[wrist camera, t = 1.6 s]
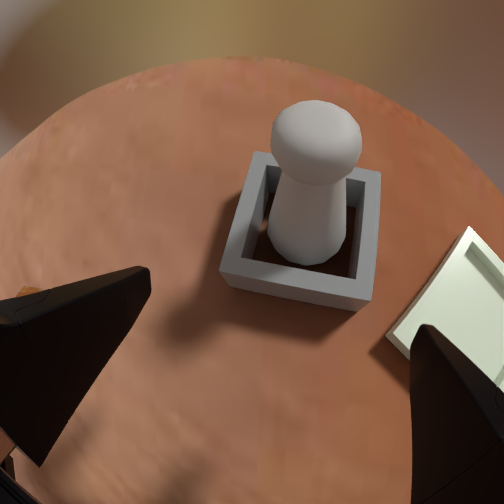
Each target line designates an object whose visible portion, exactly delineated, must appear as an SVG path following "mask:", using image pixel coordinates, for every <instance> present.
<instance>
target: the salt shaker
mask: <svg viewBox="0 0 504 504" xmlns="http://www.w3.org/2000/svg"><path fill="white" fill-rule="evenodd" d="M270 146H271V151H272V155H273V156H274V158H275V160H276V161H277V163H278V165H279V167H280V168H281V170H282V173H281V177H280V180H279V184H278V187H277V191H276V194H275V198H274V201H273V204H272V208H271V211H270V215H269V220H268V231H267V234H268V236H269V238H270V240H271V242H272V244H273V246H274V248H275V250H276V251H277V252H278V253H279V254H281V255H282V256H283V257H284V258H285V259H286V260H287V261H289V262H293V263H297V264H301V265H305V266H308V265H314V264H320V263H324V262H325V261H327V260H328V259H329V258H331V257H332V256H333V255H335V254H336V253H337V252H338V251H339V249H340V247H341V245H342V243H343V241H344V239H345V237H346V176H347V175H349V174H350V173H351V172H352V171H353V169H354V167H355V165H356V163H357V161H358V159H359V156H360V154H361V151H362V138H361V133H360V128H359V125H358V124H357V123H356V121H355V120H354V119H353V118H352V116H351V115H350V114H349V113H348V112H347V111H345V110H343V109H342V108H340V107H338V106H336V105H334V104H332V103H328V102H323V101H318V100H312V101H303V102H299V103H296V104H294V105H292V106H290V107H288V108H286V109H284V110H282V111H281V112H280V113H279V115H278V116H277V117H276V119H275V120H274V121H273V126H272V133H271V144H270Z"/></svg>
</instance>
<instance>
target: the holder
mask: <svg viewBox="0 0 504 504" xmlns="http://www.w3.org/2000/svg"><path fill="white" fill-rule="evenodd" d="M281 173H282V170H281V168H280V167H279V165H278V163H277V161H276V160H275V158H274V156H273V155H272V153H264V152H256V151H255V152H254V155H253V158H252V161H251V164H250V167H249V171H248V174H247V177H246V180H245V184H244V187H243V190H242V193H241V197H240V200H239V203H238V206H237V210H236V213H235V216H234V220H233V223H232V226H231V230H230V233H229V236H228V240H227V243H226V247H225V250H224V253H223V257H222V260H221V264H220V267H219V272H220V274H221V275H222V277H223V278H224V279H225V281H226V282H227V284H228V285H229V286H230V287H234V288H239V289H243V290H248V291H253V292H257V293H262V294H267V295H272V296H277V297H281V298H286V299H291V300H296V301H301V302H307V303H312V304H317V305H322V306H327V307H333V308H338V309H344V310H349V311H355V312H358V311H359V310H360V309H362V308H363V307H364V306H365V305H367V304H368V303H369V302H370V301H371V298H372V290H373V282H374V274H375V264H376V254H377V243H378V230H379V214H380V189H381V172H376V171H372V170H367V169H362V168H357V167H354V169H353V171H352V172H351V173H350V174H349V175H347V176H346V206H349V207H354V208H356V212H355V222H354V231H353V240H352V248H351V256H350V263H349V270H348V277H347V278H345V277H339V276H334V275H329V274H324V273H318V272H313V271H308V270H303V269H298V268H292V267H287V266H282V265H277V264H272V263H267V262H261V261H256V260H252V259H253V255H254V251H255V247H256V244H257V240H258V236H259V232H260V228H261V224H262V220H263V216H264V212H265V209H266V205H267V201H268V197H269V193H275V194H276V191H277V187H278V184H279V180H280V177H281Z"/></svg>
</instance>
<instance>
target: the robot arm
mask: <svg viewBox="0 0 504 504" xmlns="http://www.w3.org/2000/svg"><path fill="white" fill-rule="evenodd" d="M150 294H151V279H150V271H149V269H148V268H146V267H142V266H134V267H130V268H127V269H123V270H119V271H115V272H111V273H107V274H104V275H100V276H96V277H92V278H89V279H85V280H81V281H77V282H74V283H70V284H66V285H62V286H59V287H55V288H52V289H47V290H44V291H40V292H36V293H32V294H28V295H24V296H19V297H15V298H10V299H5V300H0V504H42V503H41V502H39V501H38V500H37V499H36V498H34V497H33V496H32V495H31V494H30V493H29V492H27V491H26V490H25V489H24V488H23V487H22V486H21V485H20V484H18V483H17V482H16V480H15V472H14V464H13V458H12V457H11V456H10V454H11V452H12V451H13V450H14V449H15V448H17V449H18V450H19V451H20V452H21V453H22V454H23V455H24V456H26V457H27V458H28V459H29V460H30V461H31V462H33V463H34V464H35V465H36V466H38V467H40V466H41V465H42V464H43V462H44V460H45V459H46V457H47V455H48V454H49V452H50V450H51V449H52V447H53V445H54V444H55V442H56V440H57V439H58V437H59V436H60V434H61V432H62V431H63V429H64V428H65V426H66V424H67V423H68V420H69V419H70V418H71V416H72V415H73V413H74V412H75V410H76V408H77V407H78V405H79V404H80V402H81V401H82V399H83V398H84V396H85V395H86V393H87V392H88V390H89V389H90V387H91V386H92V384H93V383H94V381H95V380H96V378H97V377H98V375H99V374H100V372H101V371H102V369H103V368H104V367H105V365H106V364H107V362H108V361H109V359H110V358H111V356H112V355H113V354H114V352H115V351H116V349H117V348H118V346H119V345H120V344H121V342H122V341H123V339H124V338H125V337H126V335H127V334H128V332H129V331H130V329H131V328H132V326H133V325H134V323H135V321H136V319H137V318H138V316H139V314H140V312H141V310H142V309H143V307H144V305H145V304H146V302H147V300H148V298H149V297H150ZM410 404H411V421H412V490H411V504H504V392H503V391H502V390H501V389H500V388H499V387H497V385H496V384H495V383H494V382H493V381H492V380H491V379H490V378H489V377H488V376H487V375H486V374H485V373H484V372H483V371H482V370H481V369H480V368H479V367H478V366H477V365H475V364H474V363H473V362H472V361H471V360H470V359H469V358H468V357H467V356H466V355H465V354H464V353H463V352H462V351H461V350H460V349H459V348H458V347H456V346H455V345H454V344H453V343H452V342H451V341H450V340H449V339H448V338H447V337H446V336H444V335H443V334H442V333H441V332H440V331H439V330H438V329H437V328H436V327H434V326H433V325H430V324H421V325H420V326H419V328H418V330H417V332H416V335H415V337H414V339H413V341H412V343H411V346H410Z"/></svg>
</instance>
